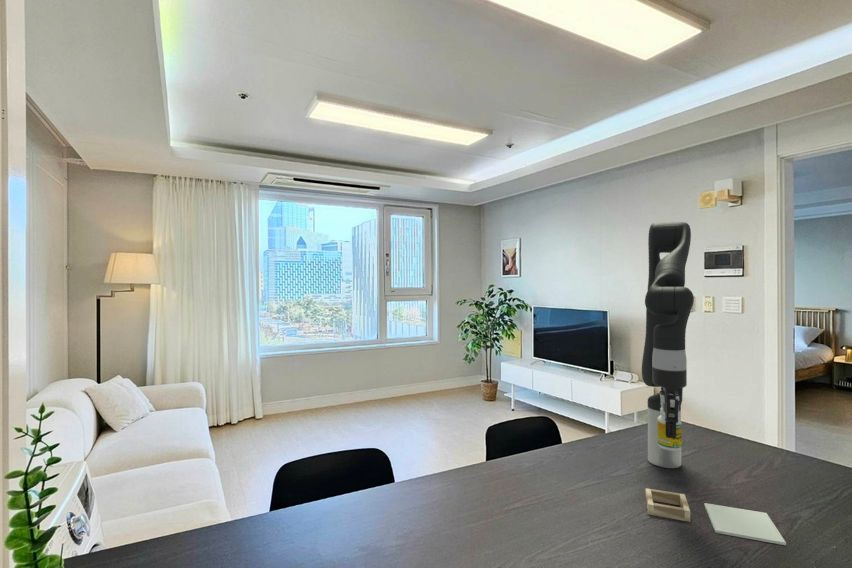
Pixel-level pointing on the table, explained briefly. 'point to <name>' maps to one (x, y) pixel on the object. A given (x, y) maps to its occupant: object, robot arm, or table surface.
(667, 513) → the collar
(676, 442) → the supplement bottle
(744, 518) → the coaster plate
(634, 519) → the table surface
